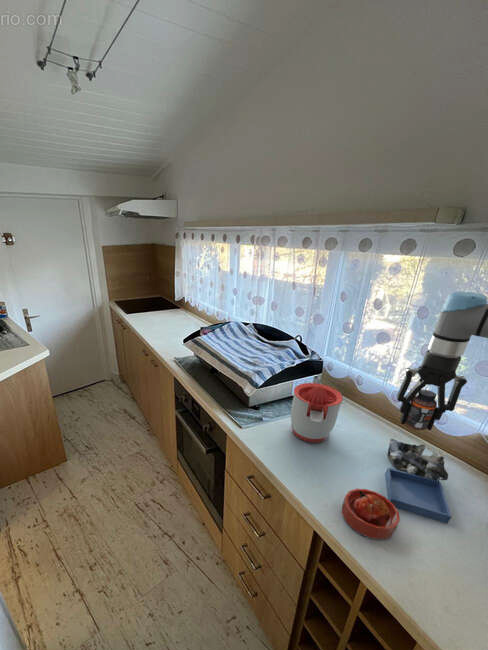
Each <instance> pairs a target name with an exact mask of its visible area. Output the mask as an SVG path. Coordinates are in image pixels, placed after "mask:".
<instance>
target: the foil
mask: <svg viewBox="0 0 488 650" xmlns="http://www.w3.org/2000/svg"><path fill="white" fill-rule="evenodd" d="M425 449H427V450H429V451H430V452H432V454H431V455H425V454H423V453H424V451H425ZM438 452H439V453H437V452H434V450H433V451H432V449H430V448H429V447H428V446H426V444H409V443H404V442H402V441H398V439H397V440H396V439H394V438H390V440H389V444H388V449H387V459H388V460H389V461H390V463H391V464H392V466H393V467H394V468H395V469H396V470H405V471H406V472H407V473H410V474H414V475H418V476H421V477H425V478H429V479H433V480H436V481H448V479H449V473H448V471H447V470H446V468H445V462H446V461H445V460H444V459H445V457H444V456H443V455H442V453H441V451H440V450H438ZM422 454H423V455H422ZM438 454H440V455H438Z"/></svg>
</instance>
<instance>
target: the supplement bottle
mask: <svg viewBox="0 0 488 650" xmlns="http://www.w3.org/2000/svg"><path fill="white" fill-rule="evenodd" d="M436 398H437V393H436V392H434V391H432V390H429V389H421V390H420V391H419V393H418V394H417V395H416V396H415V397H414V398H413V399H412V401H411V402H410V404H411V407H410V410H409V413H408V415H407V418H406V420H405V423H404V424H403V425H405V426H406V427H408V428H410V429H412V430H415V431H425V430H426V429H427V427H428V425H429V422H430V420H431V418H432V415H433V413H434V411H435V408H436V407H438V401H436V400H435V399H436Z"/></svg>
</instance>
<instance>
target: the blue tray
mask: <svg viewBox="0 0 488 650" xmlns="http://www.w3.org/2000/svg"><path fill="white" fill-rule="evenodd" d="M384 477H385V486H386V495H387V497H386V498H387V499H388V500H389V501H390V502H391V503H393V504H394V506H395V507H396V509H397V510H402V511H405V512H409V513H411V514H415V515H418V516H422V517H425V518H429V519H432V520H434V521H438V522H441V523H444V524H447V525H448V524H449V522H450V520H451V519H452V518H453V517H452V514H451V511H450V510H451V509H450V508H449V504H448V501H447V498H446V494H445V491H444V488H443V485H442V481H441V480H439V481H436V480H433V479H429V478H425V477H421V476H418V475H414V474H410V473H409V472H407V471H402V470H400V469H396V468H391V467H387V468H386V470H385V472H384Z"/></svg>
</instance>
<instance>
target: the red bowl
mask: <svg viewBox="0 0 488 650" xmlns="http://www.w3.org/2000/svg"><path fill="white" fill-rule="evenodd" d="M360 490H361V492H362V493H363V494H364V495H367V494H374V495H376V496H378V497H380V498H381V499H382V500H383V501H384V502H385V504H386V505H387V507H388V509H389V513H388V515H386V516H382V517H380V518H378V519H377V521H378V522H379V524H380V526H379V524H378V523H377V522H376V520H375V519H373V520H371V521H368V520H366V521H364V520H362V519H360V518H359V517H358V516H357V515H356V514H355V511H354V502H355V501H356V499H358V498H360V496H361V494H360V492H358V491H360ZM341 504H342V505H341V514H342V516H343V519H344V521H345V522H346V523H347V524H348V525H349V526H350V528H352V529H353V530H355V531H356V532H358V533H359V534H360V535H362V536H365V537H368V538H369V539H370V538H371V539H373V540H374V539H375V540H386V539H388V538H391V537H392V536H393V535H394V533H395V531H396V530H397V527H398V525H399V523H400V521H401V518H400V511H399V509H398V508H396V507H395V506H394V504H393V503H391V502H390V501H389V500H388V497H386V496H384V495H382V494H380V493H378V492H377V491H373V490H371V489H367V488H353V489H352V490H349V491H348V492H347V493H346V494H345V496H344V499H343V502H342V503H341Z"/></svg>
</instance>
